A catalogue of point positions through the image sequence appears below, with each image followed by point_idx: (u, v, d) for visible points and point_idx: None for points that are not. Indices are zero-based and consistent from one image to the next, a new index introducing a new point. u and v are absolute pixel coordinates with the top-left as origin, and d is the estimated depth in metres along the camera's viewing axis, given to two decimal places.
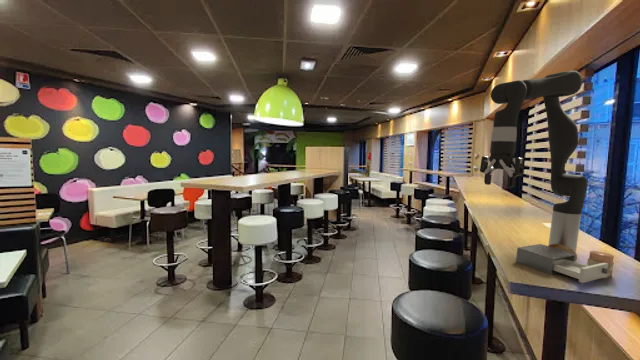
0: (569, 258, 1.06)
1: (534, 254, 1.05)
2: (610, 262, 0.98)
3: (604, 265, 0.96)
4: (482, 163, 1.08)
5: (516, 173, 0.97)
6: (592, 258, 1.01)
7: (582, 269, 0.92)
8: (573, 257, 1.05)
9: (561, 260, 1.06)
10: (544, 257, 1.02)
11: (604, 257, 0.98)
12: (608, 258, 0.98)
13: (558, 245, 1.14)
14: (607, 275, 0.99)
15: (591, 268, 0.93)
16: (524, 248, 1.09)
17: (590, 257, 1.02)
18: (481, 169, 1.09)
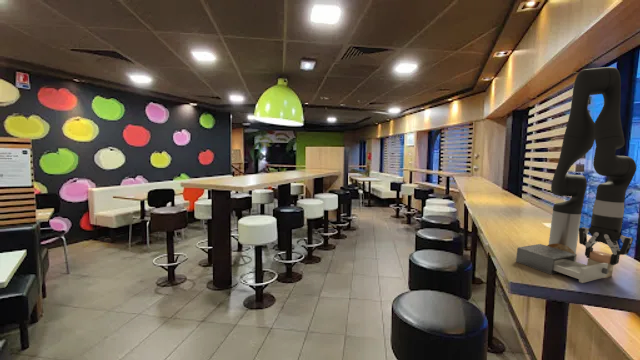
0: (569, 258, 1.06)
1: (534, 254, 1.05)
2: None
3: (604, 265, 0.96)
4: (581, 235, 1.05)
5: (622, 252, 0.95)
6: (592, 258, 1.01)
7: (582, 269, 0.92)
8: (573, 257, 1.05)
9: (561, 260, 1.06)
10: (544, 257, 1.02)
11: (604, 257, 0.98)
12: (608, 258, 0.98)
13: (557, 245, 1.15)
14: (607, 275, 0.99)
15: (591, 268, 0.93)
16: (524, 248, 1.09)
17: (590, 257, 1.02)
18: (581, 241, 1.05)
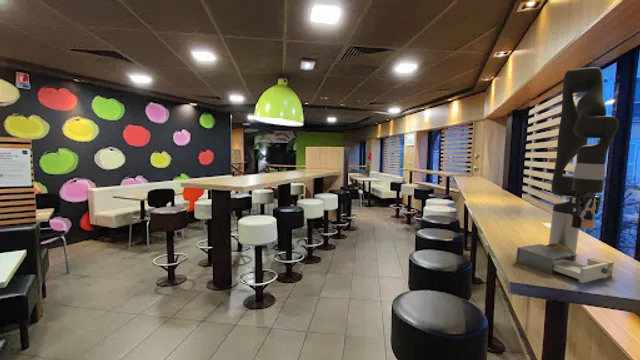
0: (569, 258, 1.06)
1: (534, 254, 1.05)
2: None
3: (604, 265, 0.96)
4: None
5: None
6: None
7: (582, 269, 0.92)
8: (573, 257, 1.05)
9: (561, 260, 1.06)
10: (544, 257, 1.02)
11: (571, 219, 0.99)
12: None
13: (556, 245, 1.15)
14: (607, 275, 0.99)
15: (591, 268, 0.93)
16: (524, 248, 1.09)
17: None
18: None
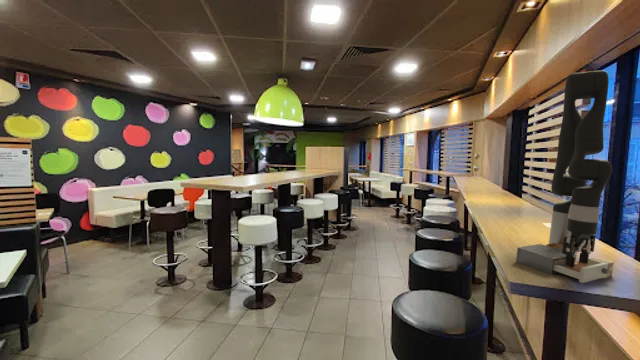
0: None
1: (534, 254, 1.05)
2: (568, 268, 0.99)
3: (604, 265, 0.96)
4: None
5: None
6: None
7: (582, 269, 0.92)
8: None
9: (561, 260, 1.06)
10: (544, 257, 1.02)
11: None
12: None
13: (556, 244, 1.15)
14: (607, 275, 0.99)
15: (591, 268, 0.93)
16: (524, 248, 1.09)
17: None
18: None
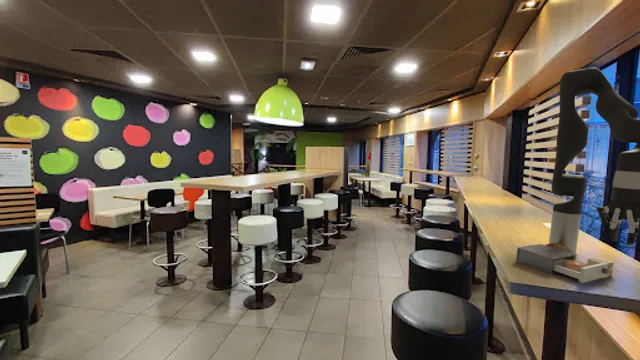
0: (569, 258, 1.06)
1: (534, 254, 1.05)
2: (568, 268, 0.99)
3: (604, 265, 0.96)
4: (602, 215, 0.92)
5: None
6: None
7: (582, 269, 0.92)
8: (573, 257, 1.05)
9: (561, 260, 1.06)
10: (544, 257, 1.02)
11: (565, 262, 1.00)
12: (566, 264, 0.99)
13: (555, 244, 1.15)
14: (607, 275, 0.99)
15: (591, 268, 0.93)
16: (524, 248, 1.09)
17: None
18: (605, 222, 0.91)
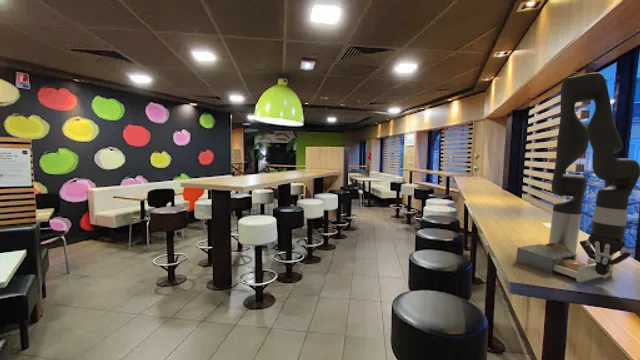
0: (569, 258, 1.06)
1: (534, 254, 1.05)
2: None
3: None
4: (585, 248, 0.96)
5: (612, 262, 0.90)
6: None
7: (580, 268, 0.92)
8: (573, 257, 1.05)
9: (559, 259, 1.06)
10: (544, 257, 1.02)
11: (563, 261, 1.01)
12: (564, 263, 1.00)
13: (554, 244, 1.15)
14: (607, 275, 0.99)
15: (588, 267, 0.93)
16: (524, 248, 1.09)
17: None
18: (591, 255, 0.94)
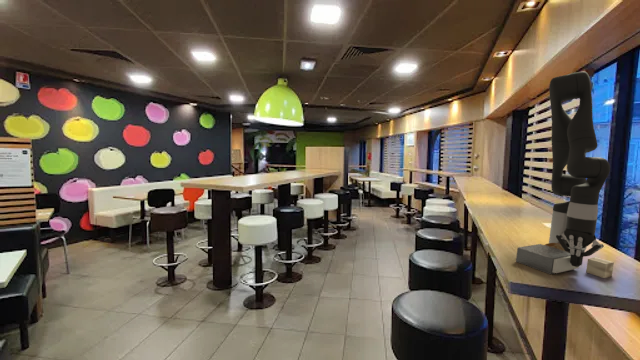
0: None
1: (534, 254, 1.05)
2: None
3: None
4: (561, 242, 1.02)
5: (584, 254, 0.96)
6: None
7: (555, 260, 0.99)
8: None
9: None
10: (544, 257, 1.02)
11: None
12: None
13: (554, 244, 1.15)
14: (607, 275, 0.99)
15: (564, 259, 1.00)
16: (524, 248, 1.09)
17: None
18: (566, 248, 1.01)
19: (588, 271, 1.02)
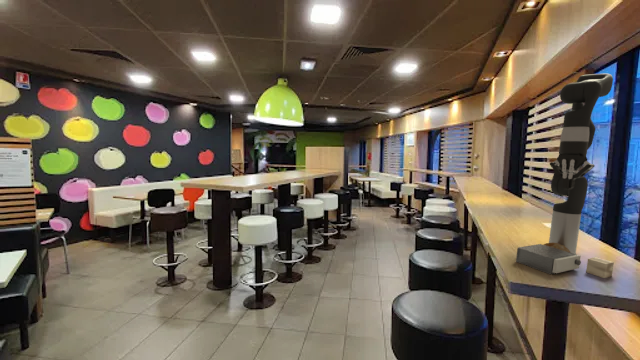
0: None
1: (534, 254, 1.05)
2: None
3: (577, 257, 1.03)
4: (554, 168, 1.07)
5: (576, 175, 1.01)
6: None
7: (555, 260, 0.99)
8: None
9: None
10: (544, 257, 1.02)
11: None
12: None
13: (553, 244, 1.16)
14: (607, 275, 0.99)
15: (564, 259, 1.00)
16: (524, 248, 1.09)
17: None
18: (559, 173, 1.05)
19: (588, 271, 1.02)
